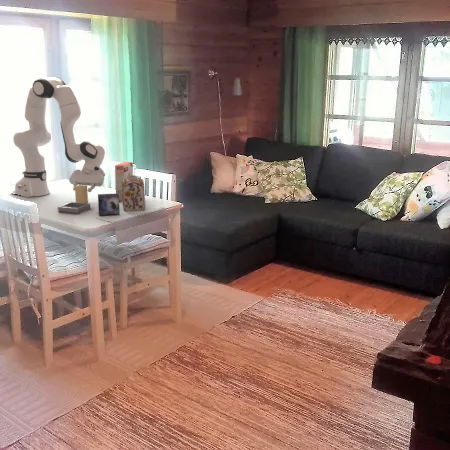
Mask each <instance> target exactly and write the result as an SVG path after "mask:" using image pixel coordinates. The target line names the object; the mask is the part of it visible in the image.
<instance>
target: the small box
mask: <svg viewBox="0 0 450 450" xmlns="http://www.w3.org/2000/svg"><path fill="white" fill-rule="evenodd" d="M97 205H98V207H97V208H98V212H97V213H98V216H99V217H108V216H109V217H110V216H120V210H121V209H120V201H119V195H118V193H117V194H116V193H102V194H101V193H98V194H97Z"/></svg>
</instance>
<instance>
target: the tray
mask: <svg viewBox="0 0 450 450" xmlns="http://www.w3.org/2000/svg"><path fill="white" fill-rule="evenodd" d="M89 210H91V203H89V202H88V203H78V202H76V201H69V202H67V203H64V204H61V205H59V206H57V211H58V213H61V214H69V215H70V214H71V215H81V214H82V213H84V212H88V211H89Z"/></svg>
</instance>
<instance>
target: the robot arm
mask: <svg viewBox="0 0 450 450" xmlns="http://www.w3.org/2000/svg"><path fill="white" fill-rule="evenodd" d="M25 98H26V99H25V107H24V108H25V109H24V119H25V120H26V121H27V122H28V125H29V126H28V128H27V129H26V128H25V129H21V130H19V131H16V132H15V134H14V135H13V138H12V139H13V143H14V145H15V147H17V148H18V149H19V150H20V152H21V153H22V156H23V159H24V165H25V170H24V171H23V172H22V171H21V173H22V175H23V177H22V178H20V180H18V181H17V182H16V183H15V188H14V190H13V191H12V192H13V193H15V194H18V195H17V196H19V195H21V196H20V197H24V198H25V197H26V198H31V197H41V196H46V195H49V194H50V193H51V192H50V190H49V189H50V188H49V186H48V182H47V170H46V163H45V157H44V155H42V154H41V153H40V151H39V147H43V146H45V145H47V144H49V143H50V141H51V140H52V134H51V132H50V130H48V128H47V125H46V112H47V111H46V109H47V108H46V107H47V101H48V99H55V100H56V103H57V106H58V109H59V112H60V128H61V134H62V138H63V143H64V154H65V158H66V159H67V160H68V161H69V162H70V163H73V164H76V163H78V162H81V161H84V164H83V166H82V168H81V169H75V170H73V172H72V173H71V175H70V177H69V178H68V181H69V183H70V184H71V185H73V188H72V190H73V191H74V192H75V186H78V185H84V186H87V193H88V192H89V193H92V191H93V190H94V189H95V188H96V187H102V186H103V184H104V182H105V177H106V173H105V172H104V170H103V169H102V168H101V165H102V164H103V161H104V159H105V155H106V154H105V153H106V151H105V148H104V147H103V146H101V144H93V143H91V142H90V141H88V140H87V141H85V140H84V141H81V142H77V143H76V140H75V135H74V130H73V129H74V126H75V124H76V123H77V121H78V120H79V119H80V117H81V114H82V112H81V111H82V110H81V106H80V103H79V99H78V98H77V95H76V93H75V91H74V90H73V88H72V87H71V86H70V85H68V84H67V83H66V81H65V80H64V79H63V78H60V77H55V76H54V77H53V76H52V77H50V76H49V77H44V78H43V77H40V78H37V79H35V80H34V81H33V83H32V86H30V87H29V88H28V91H27V93H26V97H25ZM88 186H89V187H88Z"/></svg>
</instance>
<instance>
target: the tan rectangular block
mask: <svg viewBox="0 0 450 450" xmlns="http://www.w3.org/2000/svg"><path fill="white" fill-rule="evenodd" d="M74 194H75V195H74V196H75V202H78V203H88V204H89V197H88V195H89V194H88V186H87V185H77V186H75V191H74Z"/></svg>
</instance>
